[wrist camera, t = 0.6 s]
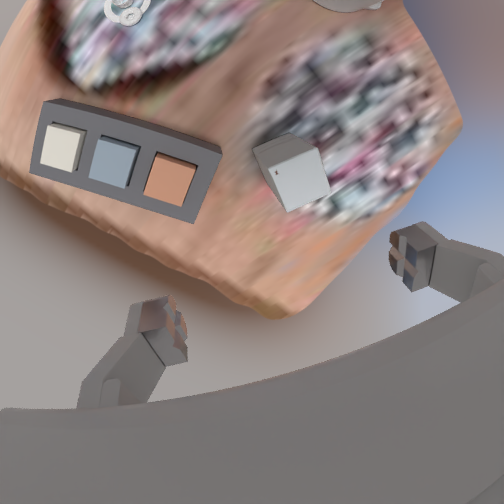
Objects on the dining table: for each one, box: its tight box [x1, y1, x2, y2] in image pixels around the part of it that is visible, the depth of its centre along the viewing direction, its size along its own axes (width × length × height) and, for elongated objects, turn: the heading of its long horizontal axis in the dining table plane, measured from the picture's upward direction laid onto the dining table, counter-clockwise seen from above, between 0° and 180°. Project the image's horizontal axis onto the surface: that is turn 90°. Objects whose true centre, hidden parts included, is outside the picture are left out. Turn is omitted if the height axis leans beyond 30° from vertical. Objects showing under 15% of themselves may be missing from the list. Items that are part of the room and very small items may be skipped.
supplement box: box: [252, 133, 331, 212], centre depth 43 cm, size 7×7×13 cm
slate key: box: [88, 135, 141, 189], centre depth 39 cm, size 6×6×4 cm
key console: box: [29, 99, 223, 224], centre depth 41 cm, size 12×30×6 cm, turn 65°
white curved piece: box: [104, 0, 151, 26], centre depth 28 cm, size 9×8×4 cm
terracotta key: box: [143, 152, 196, 207], centre depth 42 cm, size 6×6×4 cm
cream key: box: [40, 122, 88, 173], centre depth 35 cm, size 6×6×4 cm
